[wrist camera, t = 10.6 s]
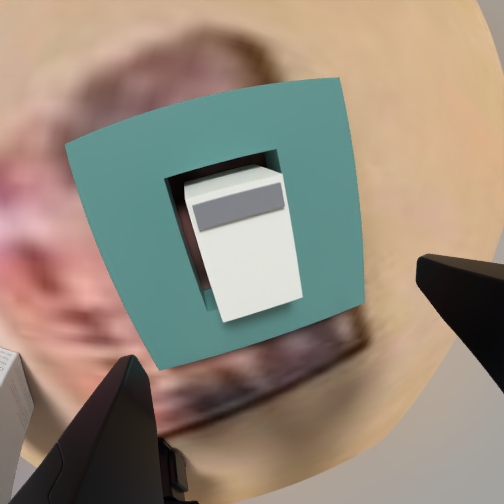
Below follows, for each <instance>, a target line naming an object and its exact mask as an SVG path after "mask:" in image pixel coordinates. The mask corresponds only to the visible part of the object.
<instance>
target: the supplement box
mask: <svg viewBox="0 0 504 504" xmlns="http://www.w3.org/2000/svg"><path fill="white" fill-rule="evenodd" d="M33 409H34V403H33V400H32V397H31V394H30V391H29V388H28V385H27V381H26V378H25V374H24V371H23V367H22V363H21V359H20V356H19V354H18V353H16V352H12V351H8V350H5V349H2V348H0V504H8V503H9V502H10V500H11V493H12V488H13V483H14V478H15V473H16V469H17V464H18V460H19V456H20V452H21V449H22V445H23V441H24V438H25V434H26V431H27V428H28V425H29V421H30V418H31V415H32V412H33Z"/></svg>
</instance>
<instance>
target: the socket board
mask: <svg viewBox="0 0 504 504" xmlns="http://www.w3.org/2000/svg"><path fill="white" fill-rule="evenodd" d="M65 148H66V152H67V156H68V159H69V163H70V167H71V170H72V174H73V177H74V180H75V184H76V187H77V190H78V193H79V196H80V199H81V202H82V205H83V208H84V211H85V214H86V217H87V220H88V222H89V225H90V228H91V230H92V233H93V236H94V238H95V241H96V243H97V246H98V248H99V251H100V253H101V256H102V258H103V261H104V263H105V265H106V268H107V270H108V272H109V274H110V277H111V279H112V281H113V283H114V286H115V288H116V290H117V292H118V294H119V296H120V298H121V300H122V303H123V305H124V307H125V309H126V311H127V313H128V315H129V317H130V319H131V321H132V322H133V324H134V326H135V328H136V330H137V332H138V334H139V336H140V338H141V339H142V341H143V343H144V345H145V347H146V348H147V350H148V352H149V354H150V356H151V357H152V359H153V361H154V362H155V364H156V366H157V367H158V369H159V371H160V370H164V369H168V368H172V367H176V366H180V365H184V364H188V363H191V362H195V361H199V360H202V359H206V358H209V357H213V356H216V355H220V354H223V353H226V352H230V351H233V350H236V349H240V348H243V347H246V346H249V345H252V344H255V343H258V342H261V341H264V340H267V339H270V338H273V337H276V336H279V335H282V334H285V333H288V332H291V331H293V330H296V329H299V328H302V327H304V326H307V325H310V324H312V323H315V322H318V321H320V320H323V319H326V318H328V317H331V316H333V315H336V314H338V313H341V312H343V311H346V310H348V309H351V308H353V307H355V306H358V305H360V304H363V303H365V302H364V260H363V241H362V226H361V214H360V203H359V193H358V184H357V176H356V168H355V161H354V154H353V147H352V141H351V134H350V129H349V123H348V117H347V112H346V107H345V102H344V97H343V92H342V87H341V83H340V78H322V79H309V80H299V81H290V82H281V83H274V84H267V85H260V86H254V87H248V88H242V89H237V90H232V91H227V92H222V93H217V94H213V95H208V96H204V97H200V98H196V99H192V100H188V101H184V102H180V103H177V104H173V105H169V106H166V107H163V108H159V109H156V110H153V111H150V112H146V113H143V114H140V115H137V116H134V117H131V118H129V119H126V120H123V121H120V122H117V123H115V124H112V125H110V126H107V127H104V128H102V129H99V130H97V131H94V132H92V133H90V134H87V135H85V136H82V137H80V138H78V139H76V140H73V141H71V142H69V143H67V144H65ZM260 152H264V155H265V160H266V165H267V169H270V170H273V171H276V172H278V173H281V174H283V180H284V185H285V191H286V196H287V202H288V207H289V213H290V219H291V225H292V231H293V237H294V243H295V249H296V255H297V262H298V268H299V275H300V282H301V288H302V295H303V297H302V298H299V299H296V300H293V301H290V302H287V303H284V304H281V305H278V306H275V307H272V308H269V309H266V310H263V311H260V312H256V313H253V314H250V315H247V316H244V317H240V318H237V319H234V320H230V321H227V322H224V323H223V321H222V318H221V315H220V312H219V309H218V306H217V303H216V300H215V297H214V294H213V291H212V288H210V289H207V290H204V291H203V288H202V285H201V282H200V279H199V276H198V273H197V270H196V267H195V264H194V261H193V258H192V255H191V252H190V249H189V246H188V243H187V240H186V237H185V233H184V230H183V227H182V224H181V221H180V217H179V214H178V211H177V208H176V204H175V201H174V197H173V194H172V191H171V187H170V184H169V180H168V177H170V176H174V175H177V174H180V173H184V172H187V171H191V170H194V169H198V168H201V167H205V166H208V165H212V164H216V163H220V162H223V161H227V160H231V159H235V158H239V157H243V156H247V155H252V154H256V153H260Z"/></svg>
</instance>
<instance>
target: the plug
mask: <svg viewBox="0 0 504 504" xmlns="http://www.w3.org/2000/svg"><path fill="white" fill-rule="evenodd" d="M184 190H185V201H186V204H187V208H188V212H189V215H190V219H191V222H192V225H193V229H194V232H195V236H196V239H197V242H198V246H199V249H200V252H201V256H202V259H203V262H204V265H205V268H206V272H207V275H208V278H209V281H210V284H211V287H212V291H213V294H214V297H215V300H216V303H217V306H218V309H219V312H220V315H221V318H222V321H223V323H224V322H227V321H230V320H234V319H237V318H240V317H244V316H247V315H250V314H253V313H256V312H260V311H263V310H266V309H269V308H272V307H275V306H278V305H281V304H284V303H287V302H290V301H293V300H296V299H299V298H302V297H303V295H302V288H301V282H300V275H299V268H298V262H297V255H296V249H295V243H294V237H293V231H292V225H291V219H290V213H289V207H288V202H287V196H286V191H285V185H284V180H283V174H281V173H278V172H276V171H273V170H270V169H267V168H264V167H261V166H258V165H255V164H252V165H248V166H243V167H239V168H235V169H231V170H227V171H223V172H220V173H216V174H212V175H208V176H205V177H201V178H197V179H194V180H190V181H187V182H184Z"/></svg>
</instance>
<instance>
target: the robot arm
mask: <svg viewBox="0 0 504 504" xmlns="http://www.w3.org/2000/svg"><path fill="white" fill-rule="evenodd" d="M416 283H417V286H418V287H419V288H420V290H421V291H422V292H423V294H424V295H425V296H426V297H427V299H428V300H429V301H430V303H431V304H432V305H433V307H434V308H435V309H436V311H437V312H438V313H439V315H440V316H441V317H442V319H443V320H444V321H445V322H446V323H447V324H448V325H449V327H450V328H451V329H452V330H453V331H454V332H455V333H456V335H457V336H458V337H459V338H460V339H461V340H462V342H463V343H464V344H465V345H466V346H467V347H468V348H469V350H470V351H471V352H472V353H473V355H474V356H475V357H476V358H477V360H478V361H479V362H480V363H481V365H482V366H483V367H484V368H485V369H486V371H487V372H488V373H489V375H490V376H491V377H492V379H493V380H494V381H495V383H496V384H497V385H498V387H499V388H500V389H501V391H502V392H503V393H504V264H497V263H491V262H484V261H477V260H470V259H463V258H456V257H449V256H442V255H435V254H425V255H423V256H421V257H419V258H418V260H417V268H416ZM185 467H186V463H185V462H184V460H183V459H182V458H181V457H180V456H179V455H178V454H177V453H176V452H175V451H174V450H173V449H172V448H171V447H170V446H169V445H168V444H167V443H166V442H165V441H164V440H163V439H161V438H157V428H156V420H155V414H154V408H153V402H152V396H151V389H150V382H149V378H148V375H147V373H146V372H145V370H144V369H143V367H142V365H141V364H140V362H139V361H138V359H137V357H136V356H135V355H128V356H123V357H121V358H120V359H119V360H118V361H117V362H116V364H115V365H114V366H113V368H112V369H111V370H110V371H109V373H108V374H107V375H106V377H105V378H104V379H103V380H102V382H101V383H100V384H99V386H98V387H97V388H96V390H95V391H94V392H93V394H92V395H91V396H90V398H89V399H88V400H87V402H86V403H85V404H84V405H83V407H82V408H81V409H80V411H79V412H78V414H77V415H76V416H75V418H74V419H73V420H72V422H71V423H70V424H69V426H68V427H67V428H66V430H65V431H64V433H63V434H62V435H61V437H60V438H59V439H58V443H56V444H55V445H54V446H53V448H52V449H51V451H50V452H49V453H48V455H47V456H46V457H45V459H44V460H43V462H42V463H41V464H40V465H39V467H38V468H37V469H36V471H35V472H34V473H33V474H32V475H31V477H30V478H29V479H28V480H27V482H26V483H25V484H24V485H23V486H22V487H21V489H20V490H19V491H18V492H17V494H16V495H15V496H14V497H13V498H12V500H11V501H10V502H9V503H8V504H199V503H198V501H185V497H184V492H187V491H188V484H187V478H186V470H185Z"/></svg>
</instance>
